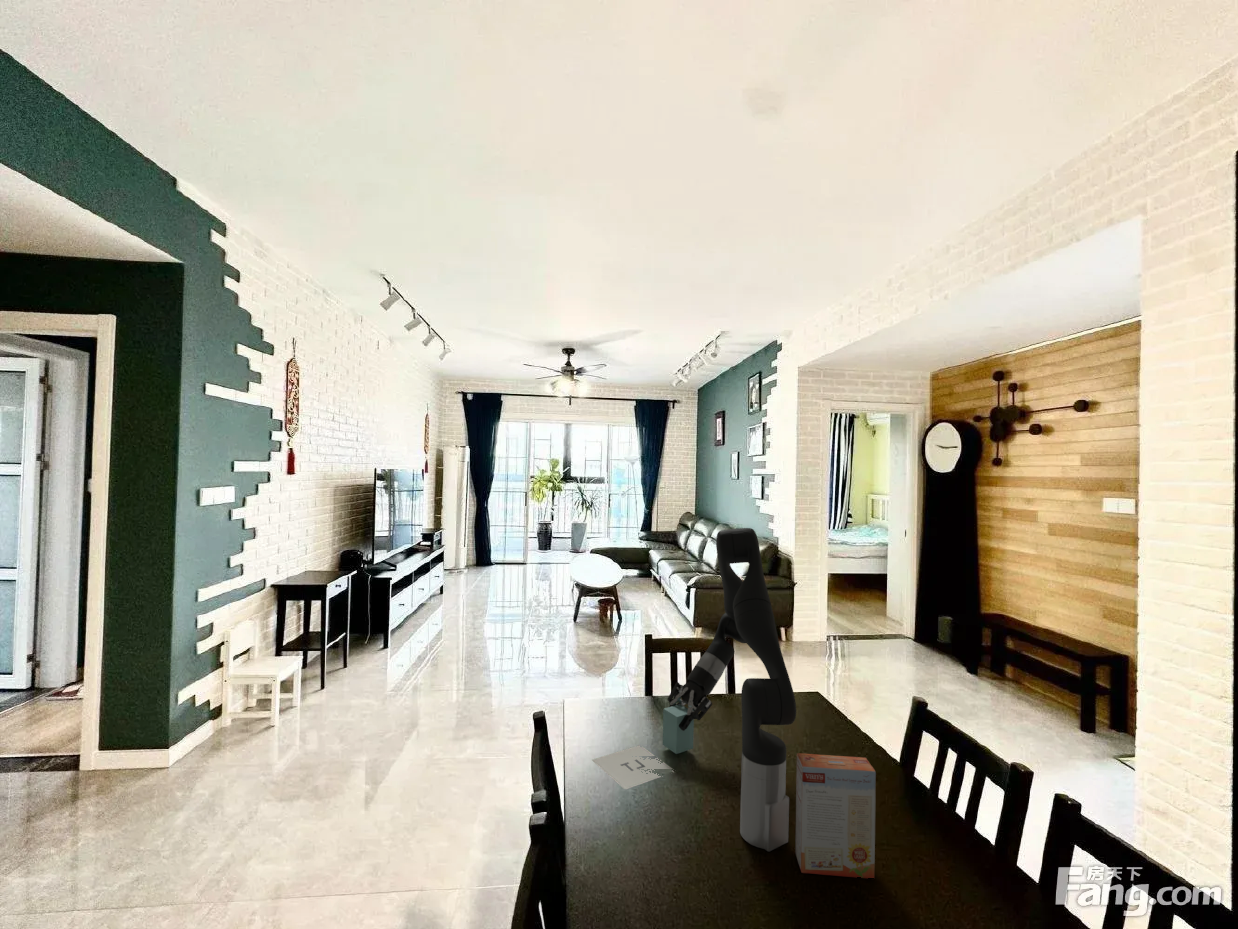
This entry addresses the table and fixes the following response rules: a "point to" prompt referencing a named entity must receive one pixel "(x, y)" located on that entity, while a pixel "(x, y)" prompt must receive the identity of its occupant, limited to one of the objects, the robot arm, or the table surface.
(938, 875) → the table surface
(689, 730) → the teal block
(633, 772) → the card
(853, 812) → the cracker box
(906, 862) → the table surface
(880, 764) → the table surface
